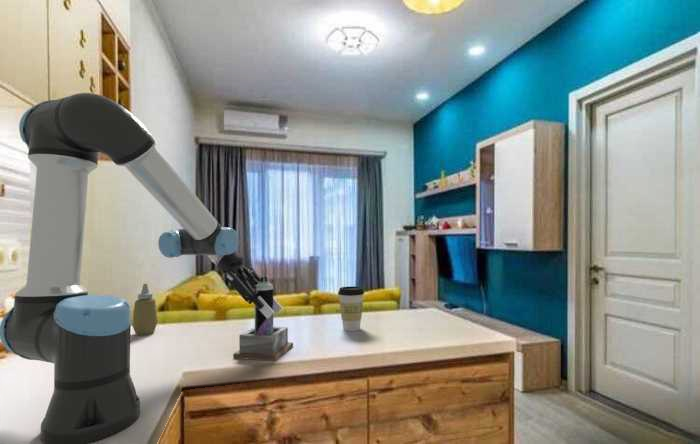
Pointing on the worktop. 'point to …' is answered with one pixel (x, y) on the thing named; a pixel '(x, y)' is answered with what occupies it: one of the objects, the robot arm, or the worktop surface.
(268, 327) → the spray can
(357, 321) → the coffee cup
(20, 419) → the worktop surface
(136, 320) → the squeeze bottle
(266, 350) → the socket stand
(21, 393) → the worktop surface
